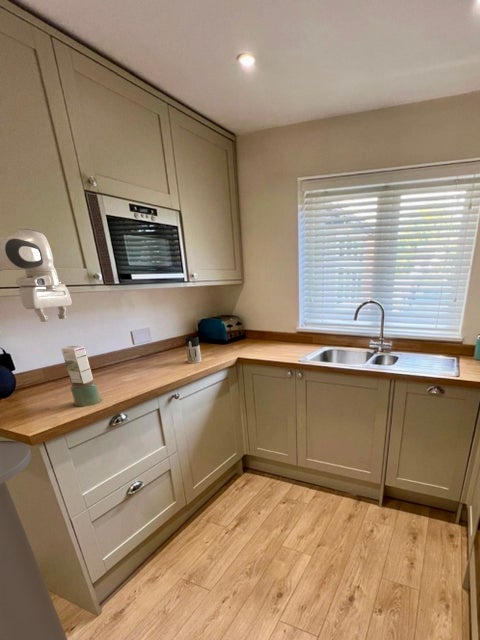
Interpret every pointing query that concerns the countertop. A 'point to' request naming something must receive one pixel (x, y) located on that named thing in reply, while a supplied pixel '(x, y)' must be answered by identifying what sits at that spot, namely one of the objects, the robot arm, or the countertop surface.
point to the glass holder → (193, 349)
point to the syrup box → (77, 364)
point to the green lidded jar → (85, 393)
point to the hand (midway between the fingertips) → (54, 320)
